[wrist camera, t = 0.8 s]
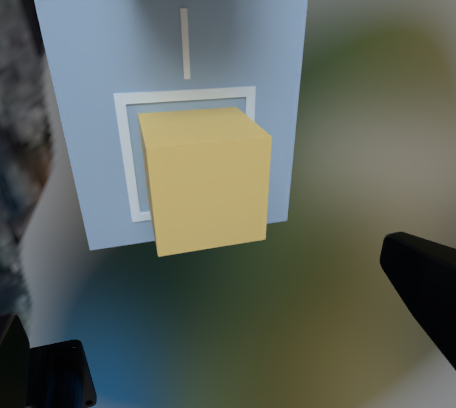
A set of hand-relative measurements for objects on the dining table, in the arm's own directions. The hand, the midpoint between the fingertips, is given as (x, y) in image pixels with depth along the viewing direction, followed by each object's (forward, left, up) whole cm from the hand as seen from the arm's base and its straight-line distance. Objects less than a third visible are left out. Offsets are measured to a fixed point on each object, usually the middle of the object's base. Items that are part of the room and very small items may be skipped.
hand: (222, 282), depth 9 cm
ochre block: (-1, -1, -12) cm, 12 cm away
